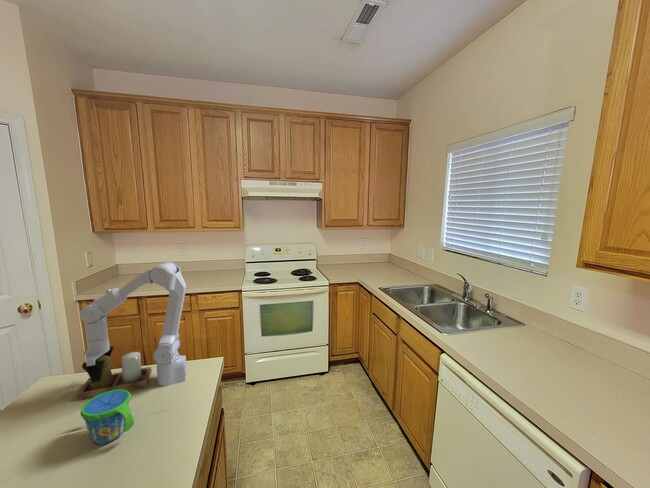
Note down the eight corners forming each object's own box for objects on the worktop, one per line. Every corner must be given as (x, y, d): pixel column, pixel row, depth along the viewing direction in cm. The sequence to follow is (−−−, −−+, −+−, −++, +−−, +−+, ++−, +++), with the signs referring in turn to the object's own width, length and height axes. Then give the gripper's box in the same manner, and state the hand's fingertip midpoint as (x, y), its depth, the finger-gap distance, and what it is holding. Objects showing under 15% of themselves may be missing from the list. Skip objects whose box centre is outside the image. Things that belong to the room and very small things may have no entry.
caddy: (151, 373, 105) (151, 366, 104) (146, 388, 96) (145, 381, 95) (89, 385, 97) (89, 377, 97) (77, 403, 88) (76, 395, 88)
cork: (91, 387, 95) (88, 357, 94) (112, 379, 99) (110, 351, 98) (93, 395, 91) (90, 364, 89) (116, 387, 95) (113, 357, 94)
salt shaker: (143, 375, 102) (141, 350, 101) (140, 384, 97) (138, 358, 96) (125, 379, 100) (123, 353, 98) (121, 388, 94) (118, 361, 93)
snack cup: (147, 429, 78) (144, 396, 77) (106, 460, 68) (103, 423, 67) (112, 414, 84) (109, 383, 82) (69, 440, 74) (66, 406, 73)
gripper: (91, 330, 98) (94, 366, 99) (72, 349, 84) (76, 390, 86) (115, 327, 100) (117, 362, 102) (100, 345, 87) (104, 384, 89)
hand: (100, 374), depth 94 cm, fingers open, 7 cm apart
